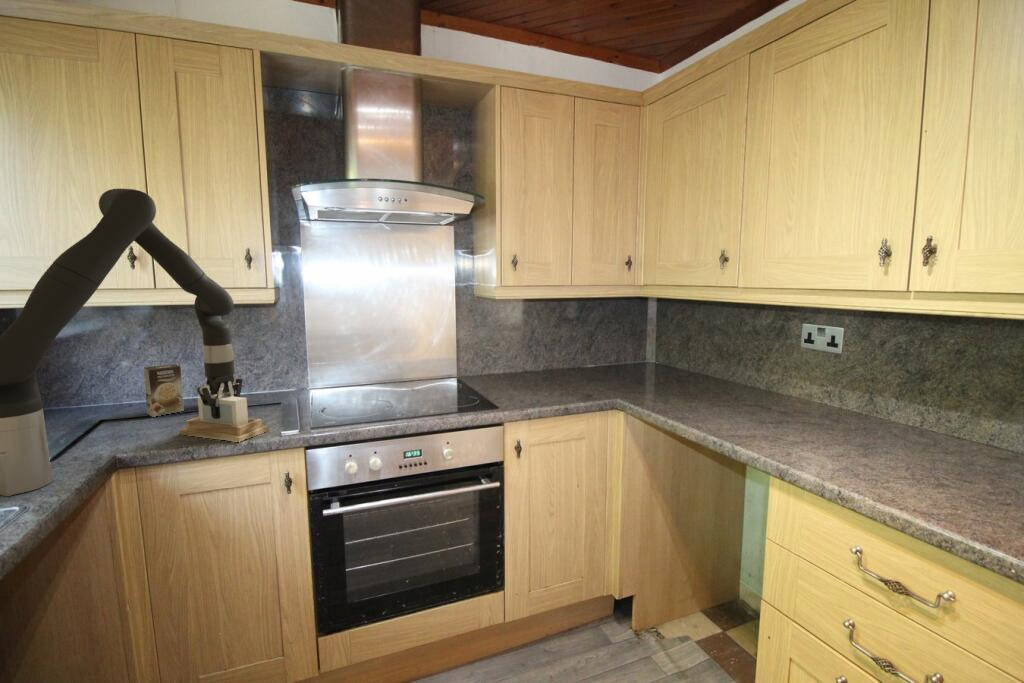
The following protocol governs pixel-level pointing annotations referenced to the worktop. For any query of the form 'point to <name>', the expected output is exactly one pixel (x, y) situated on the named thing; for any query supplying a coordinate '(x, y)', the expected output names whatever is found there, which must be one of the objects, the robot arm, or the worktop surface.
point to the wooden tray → (224, 429)
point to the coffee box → (163, 389)
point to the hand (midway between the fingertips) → (223, 415)
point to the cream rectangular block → (226, 411)
